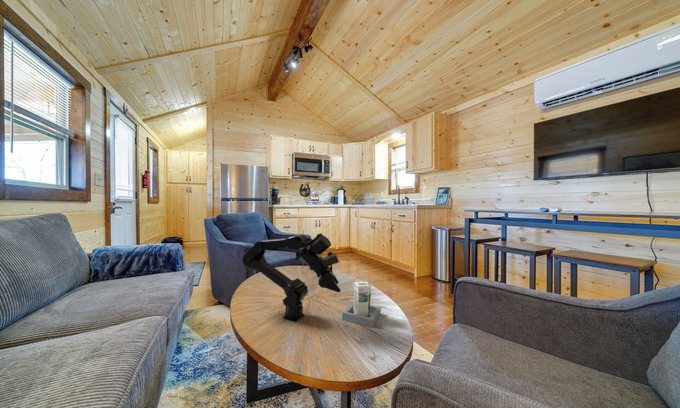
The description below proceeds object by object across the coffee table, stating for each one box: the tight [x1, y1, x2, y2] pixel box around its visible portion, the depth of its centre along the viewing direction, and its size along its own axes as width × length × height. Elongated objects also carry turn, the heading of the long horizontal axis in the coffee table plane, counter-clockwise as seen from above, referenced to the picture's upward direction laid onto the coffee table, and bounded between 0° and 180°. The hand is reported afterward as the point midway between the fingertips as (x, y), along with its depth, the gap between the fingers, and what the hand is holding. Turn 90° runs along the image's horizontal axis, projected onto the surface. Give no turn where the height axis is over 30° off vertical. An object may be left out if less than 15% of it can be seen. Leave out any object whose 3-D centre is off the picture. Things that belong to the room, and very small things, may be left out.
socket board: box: [341, 300, 382, 328], centre depth 105 cm, size 13×13×3 cm
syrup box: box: [352, 281, 372, 317], centre depth 105 cm, size 6×6×14 cm
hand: (338, 287), depth 102 cm, fingers open, 9 cm apart
